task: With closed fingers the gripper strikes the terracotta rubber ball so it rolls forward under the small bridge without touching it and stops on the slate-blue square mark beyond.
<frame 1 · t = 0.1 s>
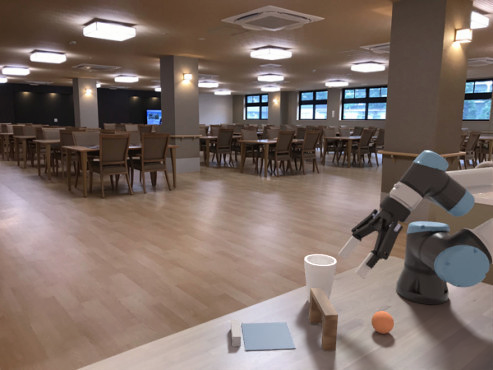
hand: (349, 265, 109), 15 cm above the table, tool tilted 35°, fingers open, 13 cm apart
ball: (382, 322, 104), on the table
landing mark: (267, 335, 102), on the table
bridge: (321, 334, 103), on the table
beige rectangular bar: (235, 336, 101), on the table
foam cup: (318, 301, 121), on the table
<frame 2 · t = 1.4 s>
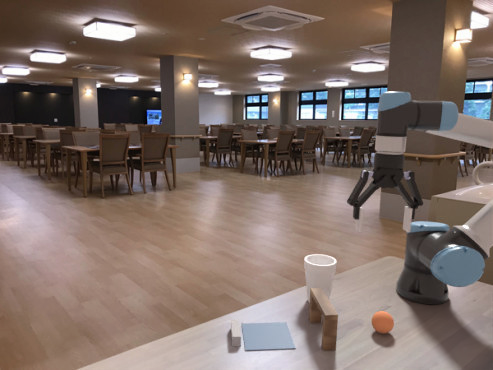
hand: (382, 230, 109), 24 cm above the table, tool pointing down, fingers open, 13 cm apart
nothing on the table moved.
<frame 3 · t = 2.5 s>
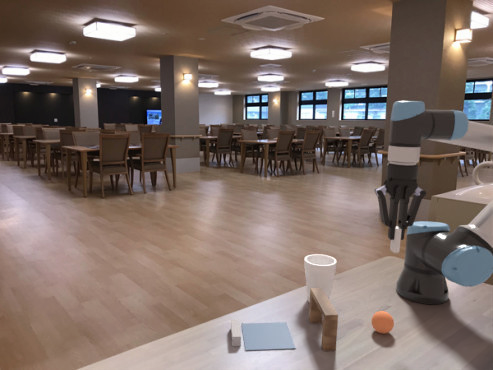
hand: (394, 251, 107), 20 cm above the table, tool pointing down, fingers closed
nothing on the table moved.
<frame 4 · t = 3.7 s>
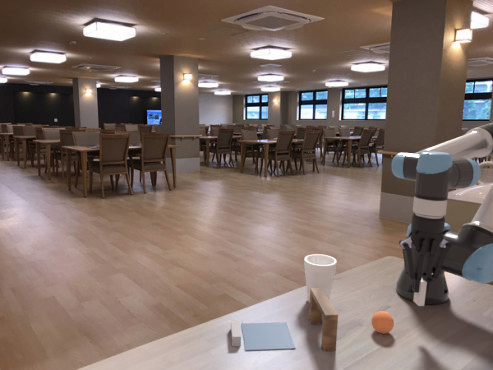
hand: (418, 303, 104), 8 cm above the table, tool pointing down, fingers closed
nothing on the table moved.
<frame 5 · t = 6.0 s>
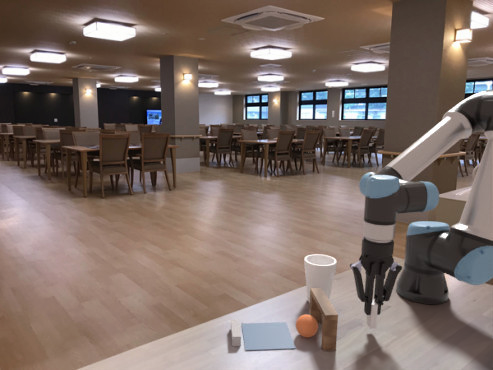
hand: (371, 325, 104), 2 cm above the table, tool pointing down, fingers closed
ball: (306, 325, 102), on the table
everything else where it was.
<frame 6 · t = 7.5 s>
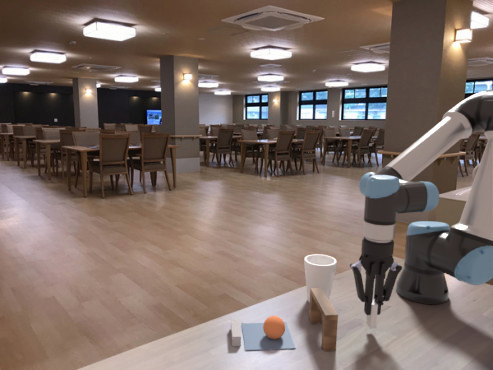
hand: (371, 325, 104), 2 cm above the table, tool pointing down, fingers closed
ball: (274, 327, 101), on the table
everything else where it was.
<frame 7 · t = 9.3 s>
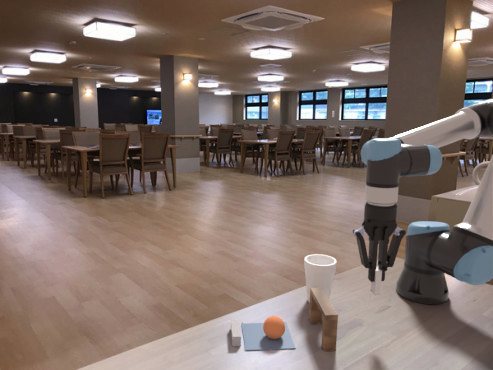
hand: (375, 292, 103), 11 cm above the table, tool pointing down, fingers closed
nothing on the table moved.
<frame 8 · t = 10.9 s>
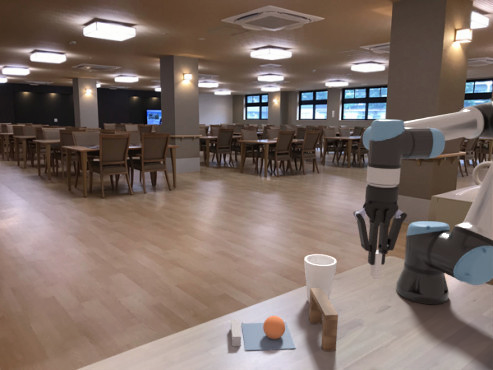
hand: (375, 276, 102), 15 cm above the table, tool pointing down, fingers closed
nothing on the table moved.
at the end: ball 1.8 cm from the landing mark (horizontally); ball never touched bridge; ball at rest at the end (0.0 cm/s) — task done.
